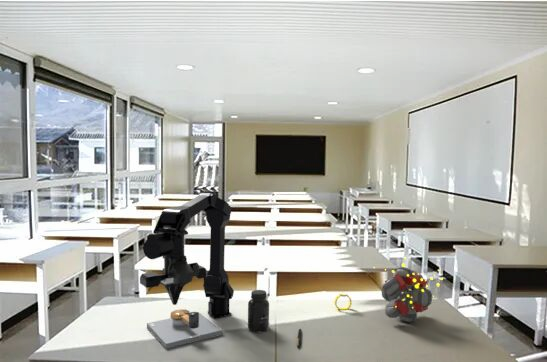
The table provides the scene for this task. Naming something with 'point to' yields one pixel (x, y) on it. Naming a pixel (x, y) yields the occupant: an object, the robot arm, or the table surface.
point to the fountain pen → (299, 339)
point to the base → (182, 331)
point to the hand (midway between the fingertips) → (174, 304)
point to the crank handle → (186, 317)
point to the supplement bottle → (258, 311)
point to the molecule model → (406, 294)
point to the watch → (343, 296)
